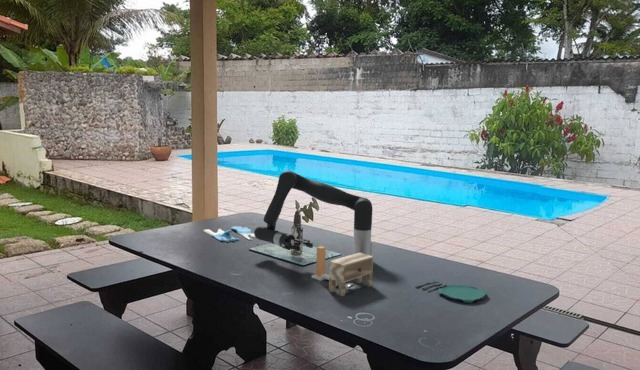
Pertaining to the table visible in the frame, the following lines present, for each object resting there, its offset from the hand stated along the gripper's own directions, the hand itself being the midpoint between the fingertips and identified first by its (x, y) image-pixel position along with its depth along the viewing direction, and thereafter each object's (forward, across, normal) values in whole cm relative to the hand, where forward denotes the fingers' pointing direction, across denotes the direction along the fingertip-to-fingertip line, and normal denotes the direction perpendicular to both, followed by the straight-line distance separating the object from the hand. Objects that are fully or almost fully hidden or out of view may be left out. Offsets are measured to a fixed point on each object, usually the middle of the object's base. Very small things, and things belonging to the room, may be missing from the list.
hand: (306, 247), depth 262 cm
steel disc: (+30, 0, +13) cm, 33 cm away
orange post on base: (+15, 0, +13) cm, 20 cm away
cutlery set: (+63, +32, +12) cm, 72 cm away
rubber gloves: (-82, +16, +14) cm, 85 cm away
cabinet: (+30, 0, +12) cm, 32 cm away
